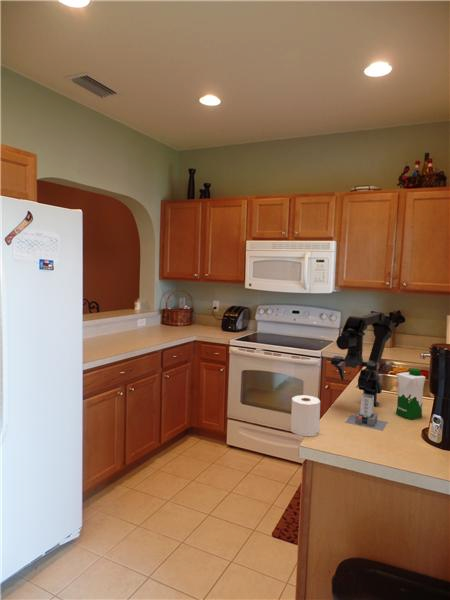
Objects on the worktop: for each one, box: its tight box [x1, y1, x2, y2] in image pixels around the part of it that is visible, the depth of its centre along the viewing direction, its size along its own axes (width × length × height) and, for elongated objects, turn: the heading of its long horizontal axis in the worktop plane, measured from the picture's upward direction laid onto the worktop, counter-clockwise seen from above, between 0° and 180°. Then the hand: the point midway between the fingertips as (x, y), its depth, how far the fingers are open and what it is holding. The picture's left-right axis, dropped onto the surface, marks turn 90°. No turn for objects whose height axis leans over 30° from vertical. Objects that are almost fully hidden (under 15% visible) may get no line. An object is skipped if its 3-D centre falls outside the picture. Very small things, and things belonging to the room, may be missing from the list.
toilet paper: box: [290, 394, 321, 437], centre depth 149 cm, size 10×10×12 cm
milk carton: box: [395, 368, 426, 421], centre depth 163 cm, size 9×9×20 cm
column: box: [359, 393, 375, 417], centre depth 155 cm, size 5×4×8 cm
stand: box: [344, 410, 388, 432], centre depth 156 cm, size 10×14×4 cm
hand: (353, 383), depth 168 cm, fingers open, 9 cm apart
